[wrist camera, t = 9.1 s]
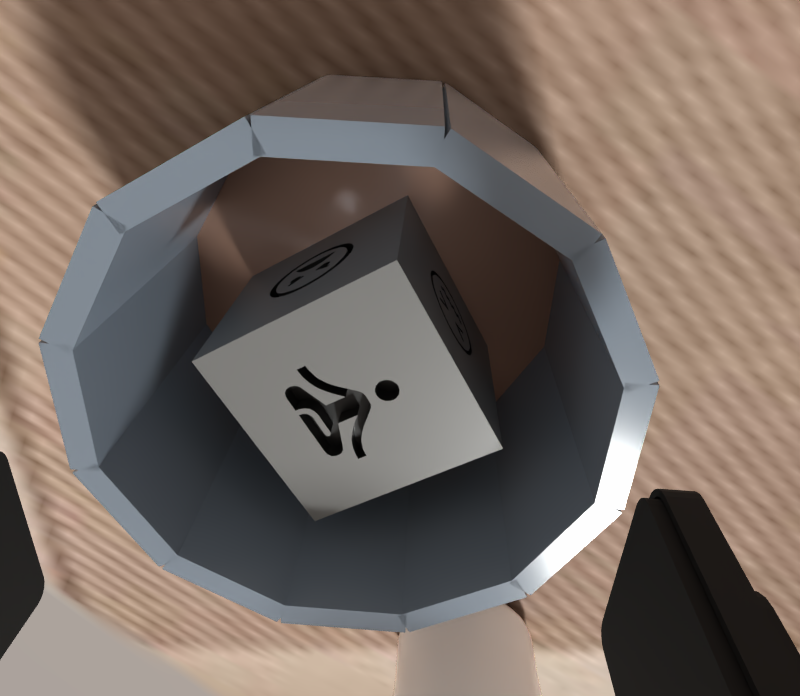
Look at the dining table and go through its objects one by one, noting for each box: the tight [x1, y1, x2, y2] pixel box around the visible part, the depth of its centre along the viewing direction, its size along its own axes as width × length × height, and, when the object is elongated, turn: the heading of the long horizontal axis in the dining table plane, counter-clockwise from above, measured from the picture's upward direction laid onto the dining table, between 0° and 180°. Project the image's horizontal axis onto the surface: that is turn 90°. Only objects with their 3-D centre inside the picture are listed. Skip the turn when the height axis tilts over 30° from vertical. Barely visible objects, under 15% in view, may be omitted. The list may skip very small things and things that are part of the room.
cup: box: [39, 75, 659, 633], centre depth 15 cm, size 11×11×8 cm
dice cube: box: [192, 195, 503, 521], centre depth 16 cm, size 5×5×5 cm
